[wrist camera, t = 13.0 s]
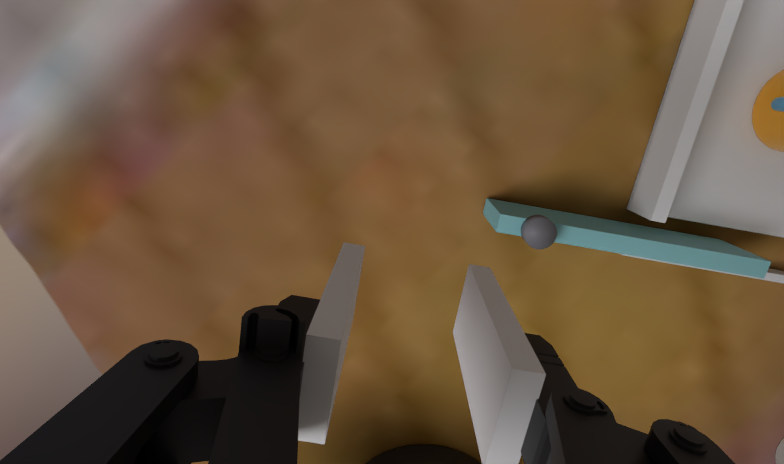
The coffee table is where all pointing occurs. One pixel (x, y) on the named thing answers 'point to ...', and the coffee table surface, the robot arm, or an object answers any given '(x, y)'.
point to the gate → (620, 238)
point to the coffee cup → (780, 453)
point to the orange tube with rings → (770, 113)
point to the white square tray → (717, 126)
